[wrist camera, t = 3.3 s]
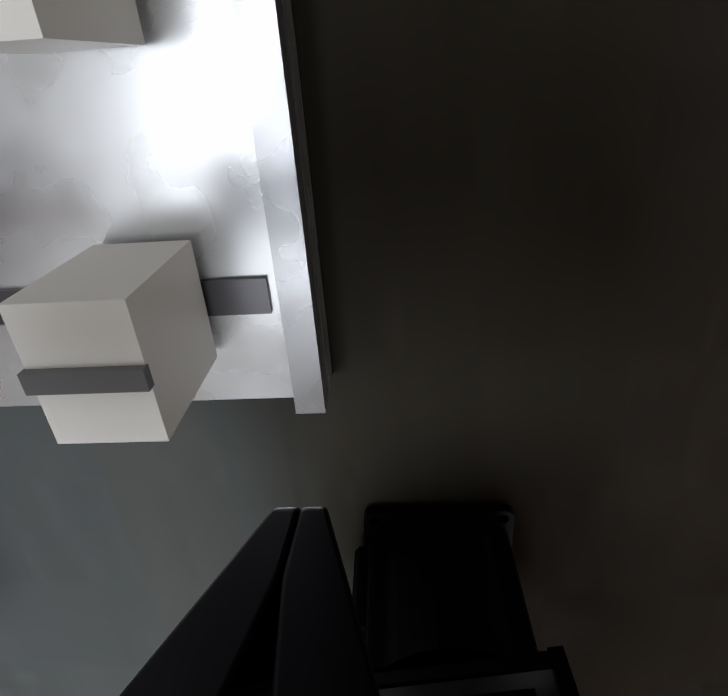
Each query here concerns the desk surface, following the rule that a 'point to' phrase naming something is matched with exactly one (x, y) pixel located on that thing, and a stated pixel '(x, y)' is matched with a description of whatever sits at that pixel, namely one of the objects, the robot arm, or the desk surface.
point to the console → (176, 182)
